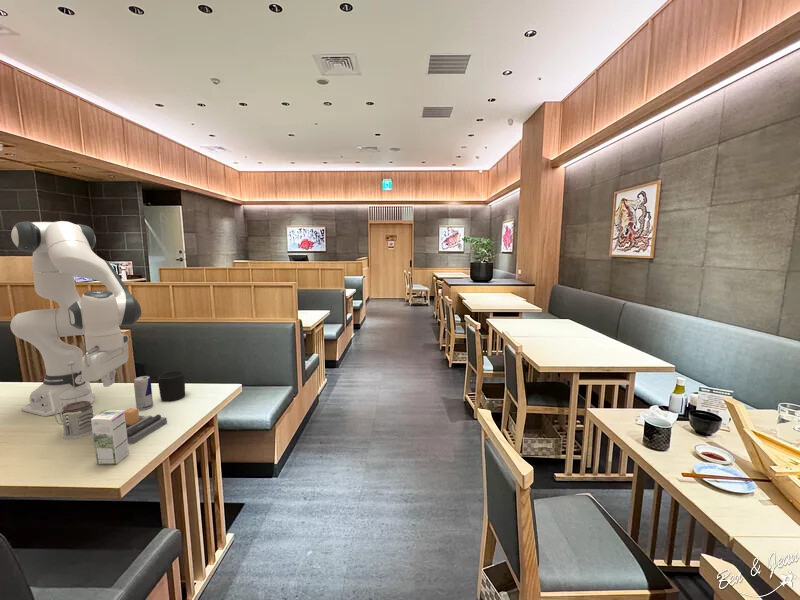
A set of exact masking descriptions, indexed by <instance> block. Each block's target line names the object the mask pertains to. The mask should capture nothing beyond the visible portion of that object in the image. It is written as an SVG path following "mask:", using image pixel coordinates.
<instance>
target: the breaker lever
mask: <svg viewBox="0 0 800 600" xmlns="http://www.w3.org/2000/svg"><path fill="white" fill-rule="evenodd" d="M139 411H140V410H138V409H137V408H136V407H135V408H134V407H133V408H132V407H130V408H128V409H126V410H124V414H125V422H126V427H130V426H132V425H134V424H135V423H137V422H139V416H140V413H139Z"/></svg>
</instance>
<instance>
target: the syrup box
mask: <svg viewBox="0 0 800 600" xmlns="http://www.w3.org/2000/svg"><path fill="white" fill-rule="evenodd" d="M124 411H125V410H121V409H120V410H119V409H118V410H116V409H115V410H113V409H112V410H108V409H107V410H102V411H101V412H99V413H97V414H96V415H95V416H93V418H92V419H91V424H92V431H93V433H92V438H93V445H94V451H95V458H96V465H118V464H119V463H120V462H121V461H123V459H125V458H127V456H129V454H130V448H129V443H128V440H127V431H126V422H125V414H124Z"/></svg>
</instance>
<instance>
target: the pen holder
mask: <svg viewBox="0 0 800 600" xmlns="http://www.w3.org/2000/svg"><path fill="white" fill-rule="evenodd" d="M185 375H186V374H185V372H183V371H181V370H173V371H172V370H171V371H167V372H162V373H161V374H160V375H158V377H157V382H158V388H159V389H158V390H159V396H160V400H161V401H163V402H166V403H167V402H176V401H178V400H181V399H183V398H184V397H185V396H186V378H185Z"/></svg>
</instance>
